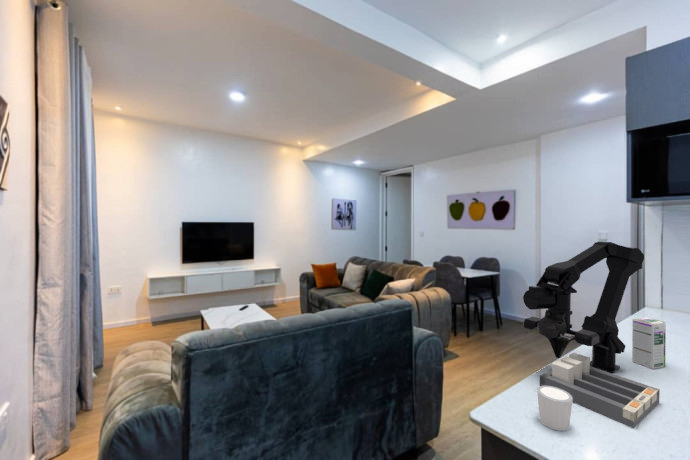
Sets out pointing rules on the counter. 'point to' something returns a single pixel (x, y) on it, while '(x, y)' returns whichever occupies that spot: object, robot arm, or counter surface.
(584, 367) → the tab
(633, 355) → the syrup box
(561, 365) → the cream rectangular block
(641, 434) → the counter surface
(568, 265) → the robot arm
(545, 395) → the white cup
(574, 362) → the beige rectangular block
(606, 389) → the switch bank
